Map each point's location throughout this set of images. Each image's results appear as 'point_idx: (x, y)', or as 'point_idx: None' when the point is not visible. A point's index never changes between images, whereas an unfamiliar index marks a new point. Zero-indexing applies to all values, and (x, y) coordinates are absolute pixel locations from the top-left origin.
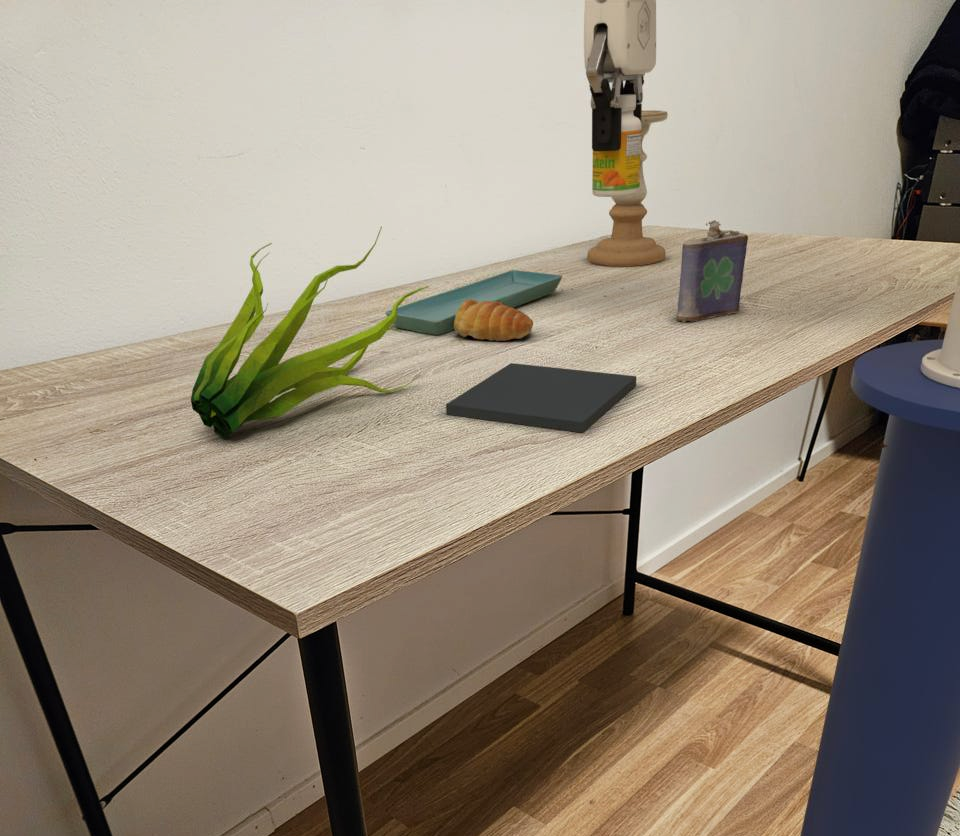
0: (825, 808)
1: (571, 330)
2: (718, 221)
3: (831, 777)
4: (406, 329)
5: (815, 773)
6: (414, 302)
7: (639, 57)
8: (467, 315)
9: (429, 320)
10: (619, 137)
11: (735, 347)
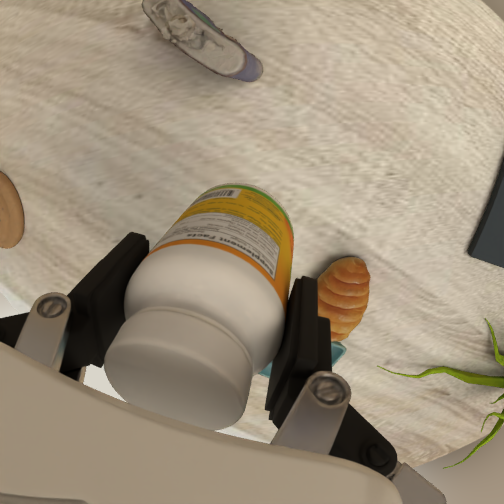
0: None
1: (313, 212)
2: (169, 21)
3: None
4: None
5: None
6: None
7: (177, 497)
8: (352, 328)
9: (342, 355)
10: (316, 296)
11: (377, 10)
